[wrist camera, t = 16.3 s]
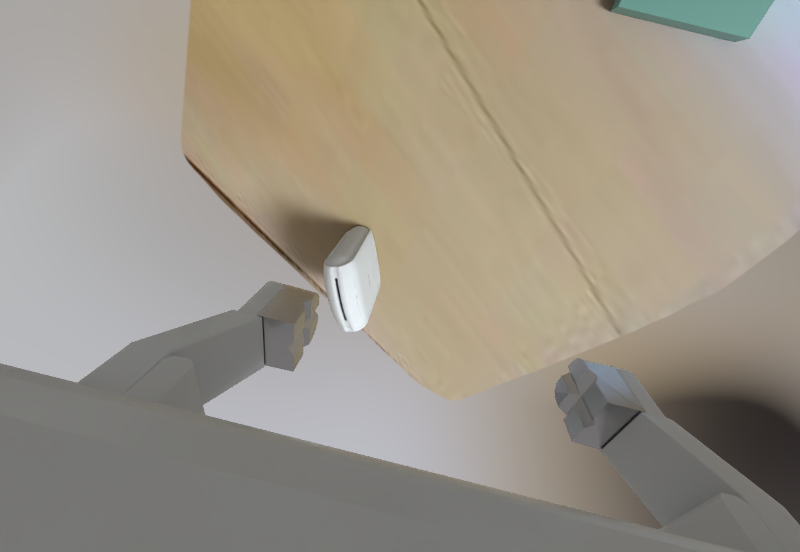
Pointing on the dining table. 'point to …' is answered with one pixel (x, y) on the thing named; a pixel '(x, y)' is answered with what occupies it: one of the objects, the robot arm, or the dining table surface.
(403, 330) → the dining table surface
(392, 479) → the robot arm
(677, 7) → the teal plate
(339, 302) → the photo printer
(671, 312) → the dining table surface
